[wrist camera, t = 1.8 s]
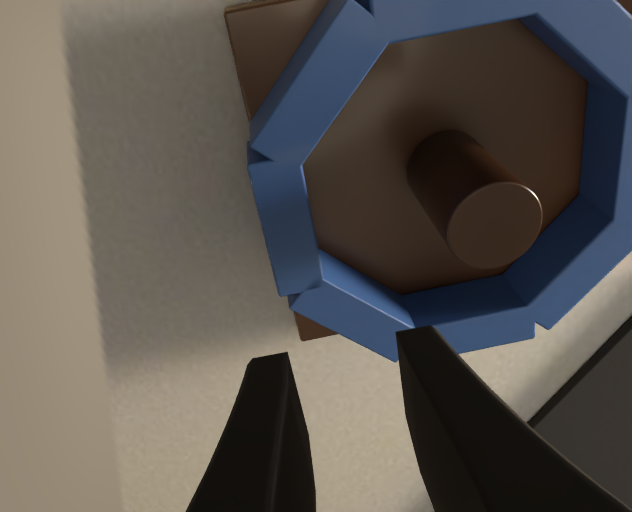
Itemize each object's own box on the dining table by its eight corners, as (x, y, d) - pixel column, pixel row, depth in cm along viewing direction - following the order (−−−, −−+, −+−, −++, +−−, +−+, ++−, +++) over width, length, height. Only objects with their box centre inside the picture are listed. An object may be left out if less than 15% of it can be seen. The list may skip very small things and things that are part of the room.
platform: (298, 325, 21) (313, 428, 16) (223, 7, 15) (216, 37, 11) (589, 265, 21) (678, 352, 17) (621, -73, 15) (768, -74, 11)
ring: (296, 348, 20) (301, 387, 18) (213, 4, 14) (208, 14, 12) (609, 283, 20) (643, 316, 18) (652, -84, 14) (708, -86, 13)
